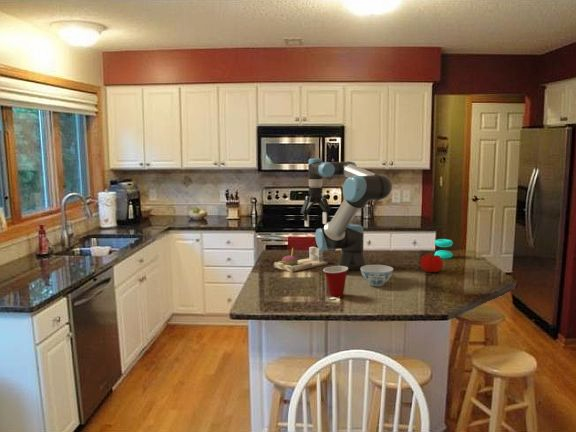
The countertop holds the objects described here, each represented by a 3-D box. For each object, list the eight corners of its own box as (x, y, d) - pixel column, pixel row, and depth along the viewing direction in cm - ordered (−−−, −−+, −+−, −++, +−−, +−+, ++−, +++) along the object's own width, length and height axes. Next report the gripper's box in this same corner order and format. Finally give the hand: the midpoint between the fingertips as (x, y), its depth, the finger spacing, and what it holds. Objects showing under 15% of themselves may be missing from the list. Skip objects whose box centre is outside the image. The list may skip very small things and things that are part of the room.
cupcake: (300, 267, 266) (300, 245, 265) (293, 271, 259) (293, 248, 257) (286, 266, 270) (285, 244, 269) (279, 269, 263) (278, 247, 261)
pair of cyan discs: (431, 239, 286) (442, 238, 291) (430, 256, 287) (442, 254, 293) (445, 242, 278) (456, 240, 283) (444, 259, 279) (456, 257, 285)
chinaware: (386, 290, 220) (386, 273, 219) (355, 286, 228) (355, 269, 227) (397, 282, 233) (397, 266, 232) (368, 278, 241) (368, 263, 240)
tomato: (443, 274, 247) (444, 257, 246) (420, 273, 249) (421, 256, 248) (441, 269, 257) (441, 253, 256) (419, 268, 259) (419, 252, 258)
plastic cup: (321, 292, 220) (321, 265, 218) (345, 291, 221) (345, 264, 219) (325, 299, 209) (325, 271, 208) (350, 298, 210) (350, 270, 208)
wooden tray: (328, 264, 272) (327, 249, 271) (291, 272, 256) (291, 256, 255) (309, 259, 283) (309, 245, 282) (274, 267, 267) (273, 252, 266)
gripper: (327, 185, 282) (327, 222, 284) (293, 187, 266) (294, 226, 269) (336, 185, 276) (336, 223, 279) (303, 188, 260) (303, 228, 263)
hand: (315, 225), depth 274 cm, fingers open, 13 cm apart
